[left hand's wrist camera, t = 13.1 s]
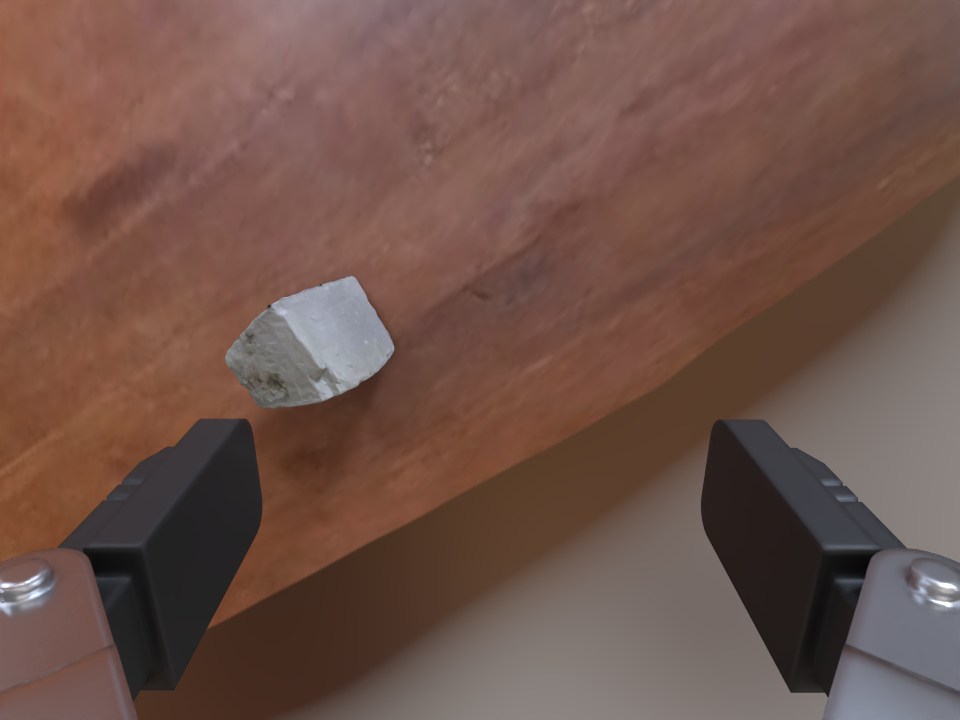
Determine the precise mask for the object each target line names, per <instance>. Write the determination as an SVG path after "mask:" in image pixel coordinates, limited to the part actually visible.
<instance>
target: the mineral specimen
mask: <svg viewBox="0 0 960 720" xmlns="http://www.w3.org/2000/svg"><path fill="white" fill-rule="evenodd" d="M393 352H394V345H393V342H392V340H391V339H390V336H389V333H388V331H387V330H386V329H385V327H384V325H383V324H382V322H381V321H380V319H379V318H378V316H377V314H376V311H375V309H374V308H373V307H372V306H371V305H370V303H369V302H368V299H367V296H366V294H365V292H364V291H363V289H362V288H361V286H360V284H359V283H358V281H357V279H355V278H354V277H353V276H350V277H346V278H345V279H339V280H337V281H334V282H328V283H326V284H321V285H319V286H317V287H314V288H310V289H306V290H303V291H302V292H300V293H297V294H295V295H292V296H289V297H284V298H281V299H280V300H279V301H277V302H275V303H273V304H272V305H268V308H267V310H265V311H264V312H262V313H261V314H260V315H259V316H258V317H257V318H255V319H254V320H253V322H252V323H251V324H250V325H249V326H248V327H247V328H246V330H245V331H244V332H242V334H241V335H240V336H239V339H238V340H236V341H235V342H234V344H233V346H232V347H231V348H230V349H229V350H228V352H227V355H226V356H225V361H226V363H227V365H228V366H229V368H230V369H231V371H232V372H234V373H235V374H236V376H237V377H238V379H239V382H240V385H243V386H245V387H246V388H247V389H248V390H249V392H250V394H251V396H252V398H253V399H254V401H255V403H256V404H257V405H259V406H260V407H262V408H278V407H294V406H302V405H308V404H314V403H320V402H323V401H326V400H328V399H330V398H332V397H334V396H338V395H340V394H342V393H344V392H346V391H348V390H350V389H353V388H355V387H356V386H358V385H359V383H361V382H363V381H365V380H367V379H368V378H370V377H371V376H373V375H374V374H375V373H377V372H378V371H379V370H380V369H381V367H383V366H384V365H385V364H386V362H387V361H388V359H389V358H390V356H391V355H392V353H393Z"/></svg>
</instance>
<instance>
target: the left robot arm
mask: <svg viewBox="0 0 960 720" xmlns="http://www.w3.org/2000/svg"><path fill="white" fill-rule="evenodd" d="M842 483H843V482H842V481H841V480H840V479H839V478H838V477H837V476H836V475H835V474H834V473H833V472H832V471H831V470H830V469H829V468H828V467H827V466H826V465H825V464H824V463H822V462H820V461H819V460H817V459H815V458H813V457H812V456H810V455H808V454H806V453H805V452H803V451H801V450H799V449H798V448H790V447H789V446H788V445H787V444H786V443H785V442H784V441H783V440H782V439H781V437H780V436H779V435H778V434H777V433H776V432H775V431H774V430H773V429H772V428H771V427H770V426H769V424H768V423H767V422H765V421H764V420H717V421H716V422H715V424H714V425H713V428H712V431H711V436H710V443H709V450H708V457H707V464H706V470H705V477H704V484H703V491H702V498H701V514H702V521H703V526H704V529H705V532H706V535H707V537H708V539H709V540H710V542H711V544H712V546H713V548H714V550H715V552H716V554H717V555H718V557H719V559H720V561H721V563H722V565H723V567H724V569H725V570H726V572H727V574H728V576H729V578H730V580H731V582H732V583H733V585H734V587H735V589H736V591H737V593H738V595H739V596H740V598H741V600H742V602H743V604H744V606H745V608H746V610H747V611H748V613H749V615H750V617H751V619H752V621H753V623H754V625H755V626H756V628H757V630H758V632H759V634H760V636H761V638H762V639H763V641H764V643H765V645H766V647H767V649H768V651H769V653H770V655H771V656H772V658H773V660H774V662H775V664H776V666H777V667H778V669H779V671H780V673H781V675H782V677H783V679H784V681H785V683H786V684H787V686H788V688H789V690H790V692H791V693H826V695H827V697H828V701H827V704H826V707H825V711H824V714H823V718H822V720H960V563H958V562H956V561H954V560H952V559H949V558H946V557H944V556H941V555H938V554H934V553H931V552H927V551H922V550H917V549H909V548H906V547H905V546H904V545H903V544H902V543H901V542H900V541H899V540H898V539H897V538H896V536H895V535H894V534H893V533H892V532H891V531H890V530H889V529H888V528H887V527H886V526H885V525H884V524H883V523H882V522H881V521H880V520H879V519H878V518H877V517H876V516H875V515H874V514H873V513H872V512H871V511H870V510H869V509H868V508H867V507H866V506H865V505H864V504H863V503H862V502H858V498H857V497H856V496H855V495H854V493H853V492H852V491H851V490H850V489H849V488H848V487H847V486H843V484H842ZM261 516H262V494H261V487H260V480H259V473H258V466H257V459H256V452H255V445H254V439H253V432H252V428H251V425H250V423H249V422H248V421H247V420H246V419H200V420H198V421H197V422H196V423H195V424H194V426H193V427H192V428H191V429H190V430H189V431H188V432H187V433H186V434H185V435H184V436H183V438H182V439H181V440H180V441H179V442H178V443H177V444H176V445H175V446H174V447H166V448H164V449H163V450H161V451H159V452H157V453H156V454H154V455H152V456H150V457H149V458H147V459H145V460H143V461H142V462H140V463H139V464H138V465H137V466H136V467H135V468H134V469H133V470H132V471H131V472H130V473H129V474H128V475H127V476H126V477H125V478H124V479H123V480H122V485H118V486H117V487H116V488H115V489H114V490H113V491H112V492H111V493H110V494H109V495H108V496H107V500H103V501H102V502H101V503H100V504H99V505H98V506H97V507H96V508H95V509H94V510H93V511H92V512H91V513H90V515H89V516H88V517H87V518H86V519H85V520H84V521H83V522H82V523H81V524H80V525H79V526H78V527H77V528H76V529H75V530H74V531H73V532H72V533H71V534H70V535H69V536H68V537H67V538H66V539H65V540H64V541H63V542H62V543H61V544H60V545H59V546H58V548H51V549H43V550H38V551H33V552H29V553H26V554H22V555H19V556H16V557H14V558H11V559H8V560H6V561H4V562H2V563H0V720H138V718H137V714H136V711H135V707H134V704H133V702H134V700H135V698H136V697H137V695H138V693H139V692H140V690H175V688H176V686H177V684H178V682H179V680H180V678H181V676H182V674H183V673H184V671H185V669H186V667H187V665H188V663H189V661H190V659H191V657H192V655H193V653H194V652H195V650H196V648H197V646H198V644H199V642H200V640H201V638H202V637H203V635H204V633H205V631H206V629H207V627H208V625H209V623H210V621H211V620H212V618H213V616H214V614H215V612H216V610H217V608H218V606H219V604H220V603H221V601H222V599H223V597H224V595H225V593H226V591H227V589H228V587H229V585H230V584H231V582H232V580H233V578H234V576H235V574H236V572H237V570H238V568H239V567H240V565H241V563H242V561H243V559H244V557H245V555H246V553H247V551H248V550H249V548H250V546H251V544H252V542H253V540H254V538H255V536H256V534H257V532H258V529H259V526H260V522H261Z"/></svg>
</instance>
